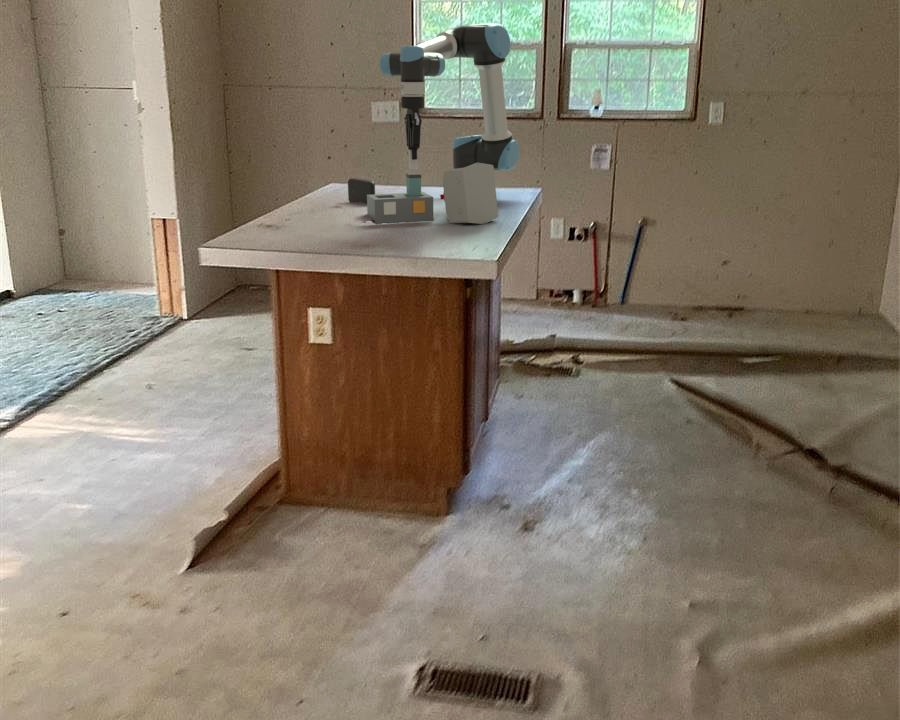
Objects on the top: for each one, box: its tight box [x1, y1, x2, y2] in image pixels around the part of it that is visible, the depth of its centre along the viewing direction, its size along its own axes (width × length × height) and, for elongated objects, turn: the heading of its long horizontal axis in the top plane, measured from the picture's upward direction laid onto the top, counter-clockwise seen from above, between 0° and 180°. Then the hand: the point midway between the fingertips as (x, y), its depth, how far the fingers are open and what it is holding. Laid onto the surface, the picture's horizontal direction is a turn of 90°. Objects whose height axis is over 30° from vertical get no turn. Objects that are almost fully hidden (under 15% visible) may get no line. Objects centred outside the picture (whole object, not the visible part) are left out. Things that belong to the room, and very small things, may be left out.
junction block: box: [366, 191, 434, 225], centre depth 301 cm, size 20×12×8 cm, turn 107°
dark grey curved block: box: [347, 177, 376, 204], centre depth 331 cm, size 16×5×9 cm, turn 39°
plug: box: [405, 172, 422, 197], centre depth 301 cm, size 4×4×14 cm
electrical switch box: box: [439, 163, 499, 225], centre depth 297 cm, size 14×15×20 cm
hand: (413, 169), depth 298 cm, fingers closed
